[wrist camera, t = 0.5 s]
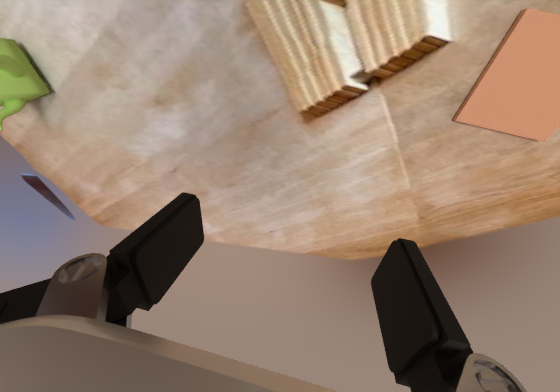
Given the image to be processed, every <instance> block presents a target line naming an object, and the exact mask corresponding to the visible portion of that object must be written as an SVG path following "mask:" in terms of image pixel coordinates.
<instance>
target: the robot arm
mask: <svg viewBox="0 0 560 392" xmlns="http://www.w3.org/2000/svg"><path fill="white" fill-rule="evenodd" d="M203 241H204V233H203V225H202V217H201V209H200V201H199V199H198V198H197V197H196V195H194V194H189V193H181V194H180V195H179V196H178V197H176V198H175V199H174V200H173V201H171V202H170V203H169V204H167V205H166V206H165V207H164V208H162V209H161V210H160V211H159V212H157V213H156V214H155V215H154V216H152V217H151V218H150V219H149V220H147V221H146V222H145V223H144V224H142V225H141V226H140V227H139V228H137V229H136V230H135V231H134V232H132V233H131V234H130V235H129V236H127V237H126V238H125V239H124V240H122V241H121V242H120V243H119V244H117V245H116V246H115V247H114V248H113V249H111V250H110V251H109V252H110V254H109V255H108V256H107V257H105V256H104V255H102V254H100V253H91V254H85V255H82V256H78V257H76V258H74V259H72V260H70V261H68V262H66V263H65V264H63V265H62V266H61V267H60V268H59V269H57V270H56V272H55V273H54V275H53V276H52V278H50V279H47V280H43V281H40V282H37V283H33V284H30V285H27V286H24V287H20V288H17V289H13V290H10V291H7V292H4V293H0V392H338V391H335V390H332V389H329V388H325V387H322V386H319V385H316V384H312V383H309V382H306V381H302V380H299V379H296V378H293V377H290V376H287V375H283V374H280V373H277V372H274V371H270V370H267V369H264V368H260V367H257V366H254V365H251V364H247V363H244V362H241V361H238V360H234V359H231V358H227V357H224V356H221V355H218V354H214V353H211V352H208V351H204V350H201V349H198V348H195V347H191V346H188V345H184V344H181V343H178V342H174V341H171V340H167V339H164V338H161V337H158V336H154V335H151V334H147V333H144V332H141V331H137V330H134V329H131V320H132V313H133V311H134V310H135V309H136V308H140V309H143V310H147V311H149V310H150V308H151V307H152V306H153V305H154V304H157V303H158V302H159V301H160V300H161V299H162V297H163V296H164V294H165V293H166V292H167V291H168V289H169V288H170V287H171V285H172V284H173V283H174V281H175V280H176V279H177V277H178V276H179V275H180V273H181V272H182V270H183V269H184V268H185V266H186V265H187V264H188V262H189V261H190V259H191V258H192V257H193V256H194V254H195V253H196V252H197V250H198V249H199V248H200V246H201V245H202V244H203ZM371 286H372V291H373V296H374V300H375V304H376V310H377V314H378V319H379V324H380V328H381V333H382V338H383V342H384V347H385V351H386V356H387V361H388V365H389V369H390V371H391V372H393V373H394V376H395V380H396V383H398V384H401V385H404V386H408V387H410V388H411V392H527V391H526V390H525V388H524V387H523V385H522V384H521V383H520V382H519V381H518V380H517V378H516V377H515V376H514V375H513V374H512V373H511V372H510V371H509V370H507V369H506V368H505V367H504V366H503V365H501V364H500V363H499V362H497V361H495V360H494V359H492V358H490V357H488V356H486V355H484V354H479V353H473V351H472V349H471V347H470V343H469V341H468V339H467V338H466V336H465V334H464V332H463V330H462V328H461V326H460V325H459V323H458V321H457V319H456V317H455V315H454V313H453V311H452V310H451V308H450V306H449V304H448V302H447V300H446V298H445V297H444V295H443V293H442V291H441V289H440V287H439V285H438V284H437V282H436V280H435V278H434V276H433V274H432V272H431V271H430V269H429V267H428V265H427V263H426V261H425V260H424V258H423V256H422V254H421V252H420V250H419V248H418V246H417V244H416V243H415V242H414V241H411V240H406V239H401V238H399V239H397V241H393V242H392V243H391V245H390V247H389V249H388V250H387V252H386V254H385V256H384V257H383V259H382V261H381V263H380V265H379V266H378V268H377V270H376V272H375V273H374V275H373V277H372V280H371Z"/></svg>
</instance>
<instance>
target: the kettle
mask: <svg viewBox="0 0 560 392" xmlns="http://www.w3.org/2000/svg"><path fill="white" fill-rule="evenodd" d="M48 93H50V88H49V86H48V84H47V83H46V82H45V81H43V80H42V79H41V78H40V76H39V75H38V74H37V72H36V71H35V69H34V68H33V66H32V65H31V63H30V62H29V57H28V55H27V54H26V52H25V51H23V50H22V49H20V47H19V46H18V44H17V43H16V42H15V40H11V39H3V38H0V106H4V108H3V109H1V110H0V130H1V131H2V122H3V120H4V119H5V118H7V117H8V116H11V115H13V114H16V113H18V112H19V111H21V110H22V109H23V108H24V105H25V103H26V102H29V101H31V100H34V99H36V98H38V97H41V96H43V95H46V94H48Z"/></svg>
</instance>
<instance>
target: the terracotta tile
mask: <svg viewBox="0 0 560 392" xmlns="http://www.w3.org/2000/svg"><path fill="white" fill-rule="evenodd" d="M453 120H454V121H458V122H463V123H467V124H471V125H475V126H479V127H484V128H488V129H492V130H496V131H500V132H505V133H509V134H513V135H517V136H522V137H526V138H530V139H534V140H538V141H543V142H545V140H546V139H547V138H548V137H549V136H550V135H551V134H552V133H553V132H554V131H555V130H556V129H557V128H558V126H559V125H560V15H558V14H553V13H547V12H542V11H537V10H532V9H525V10H522V11H521V13H520V15H519V16H518V18H517V19H516V21H515V22H514V24H513V26H512V27H511V29H510V30H509V32H508V33H507V35H506V37H505V38H504V40H503V41H502V43H501V44H500V46H499V48H498V49H497V51H496V52H495V54H494V55H493V57H492V59H491V60H490V62H489V63H488V65H487V66H486V68H485V70H484V71H483V73H482V74H481V76H480V77H479V79H478V81H477V82H476V84H475V85H474V87H473V88H472V90H471V92H470V93H469V95H468V96H467V98H466V99H465V101H464V103H463V104H462V106H461V107H460V109H459V111H458V112H457V114H456V115H455V117H454V118H453Z"/></svg>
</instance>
